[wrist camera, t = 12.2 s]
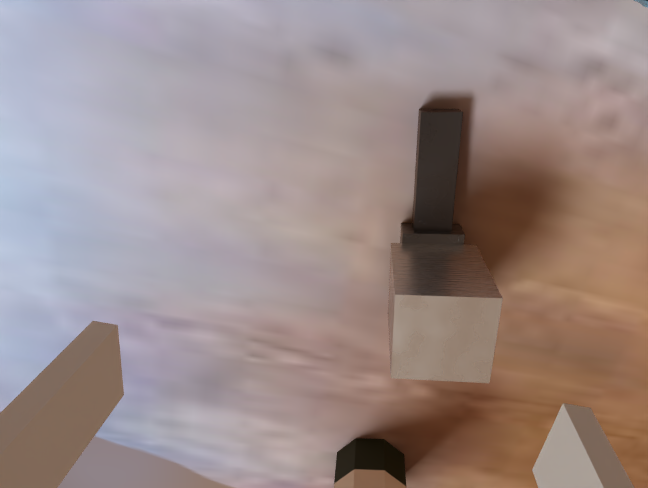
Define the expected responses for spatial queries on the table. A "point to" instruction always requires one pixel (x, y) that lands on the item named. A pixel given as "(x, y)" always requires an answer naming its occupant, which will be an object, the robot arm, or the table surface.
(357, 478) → the wine bottle
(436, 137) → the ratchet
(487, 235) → the table surface
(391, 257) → the grey rectangular block
